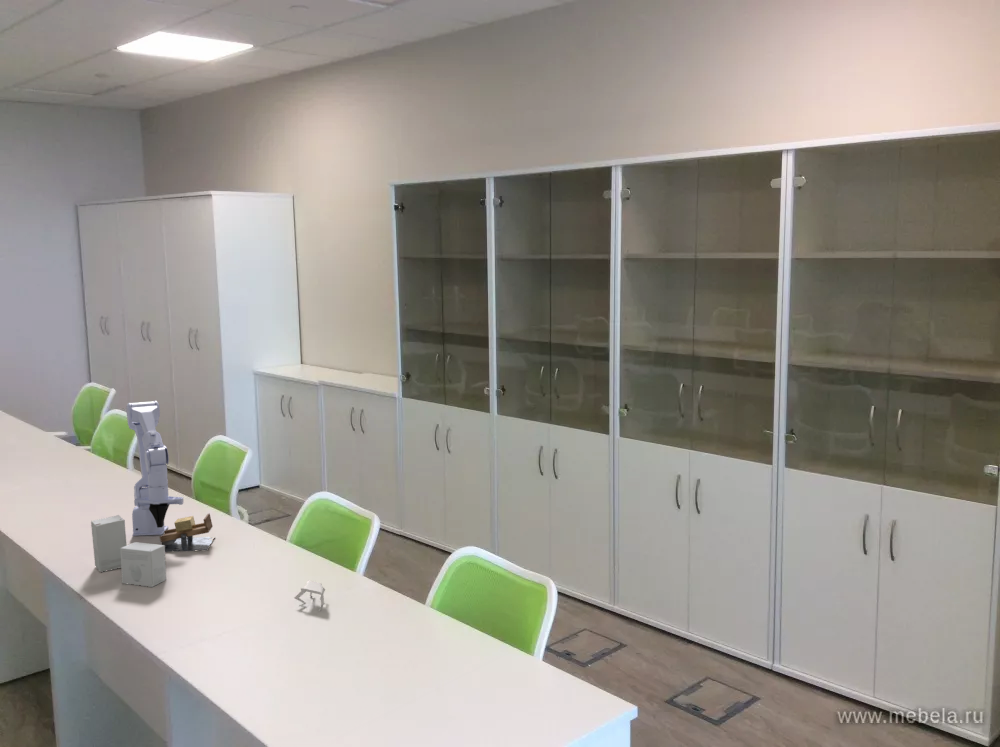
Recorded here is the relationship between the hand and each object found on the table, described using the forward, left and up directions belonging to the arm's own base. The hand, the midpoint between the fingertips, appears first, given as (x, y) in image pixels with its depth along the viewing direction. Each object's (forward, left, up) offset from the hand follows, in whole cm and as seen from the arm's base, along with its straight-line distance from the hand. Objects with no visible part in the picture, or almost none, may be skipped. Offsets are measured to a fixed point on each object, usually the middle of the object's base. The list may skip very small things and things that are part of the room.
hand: (160, 526), depth 268 cm
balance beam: (+8, 0, -4) cm, 9 cm away
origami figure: (+53, -51, -7) cm, 74 cm away
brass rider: (+8, 0, -2) cm, 8 cm away
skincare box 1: (-10, -18, -7) cm, 21 cm away
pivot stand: (+8, 0, -6) cm, 10 cm away
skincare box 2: (+3, -30, -7) cm, 31 cm away
